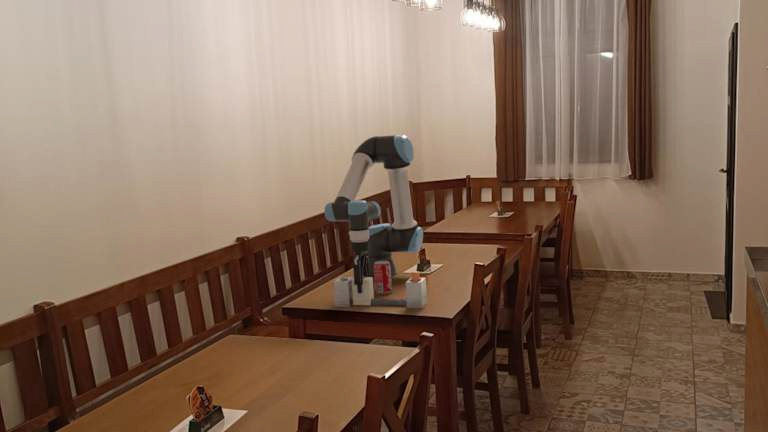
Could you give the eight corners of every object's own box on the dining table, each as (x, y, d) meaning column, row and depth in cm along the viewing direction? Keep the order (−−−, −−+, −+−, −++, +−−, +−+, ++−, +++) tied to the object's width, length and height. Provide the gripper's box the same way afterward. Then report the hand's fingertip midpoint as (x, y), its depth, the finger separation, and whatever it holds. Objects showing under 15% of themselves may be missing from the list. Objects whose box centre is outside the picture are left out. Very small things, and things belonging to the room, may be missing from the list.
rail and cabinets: (341, 301, 280) (340, 275, 279) (426, 302, 270) (425, 276, 269) (335, 306, 272) (333, 280, 271) (422, 308, 263) (421, 281, 261)
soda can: (390, 294, 285) (388, 263, 284) (373, 295, 287) (371, 264, 285) (393, 290, 292) (392, 260, 290) (377, 290, 294) (375, 260, 292)
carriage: (357, 301, 277) (355, 274, 275) (374, 301, 275) (372, 274, 273) (353, 304, 272) (351, 277, 270) (370, 305, 270) (368, 277, 268)
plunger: (413, 286, 268) (412, 271, 267) (420, 286, 267) (420, 271, 267) (411, 288, 265) (410, 273, 265) (419, 288, 265) (418, 273, 264)
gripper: (357, 236, 279) (361, 292, 283) (342, 244, 262) (346, 304, 266) (375, 236, 277) (379, 293, 281) (361, 244, 260) (365, 305, 263)
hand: (363, 298), depth 273 cm, fingers closed on carriage, 5 cm apart
